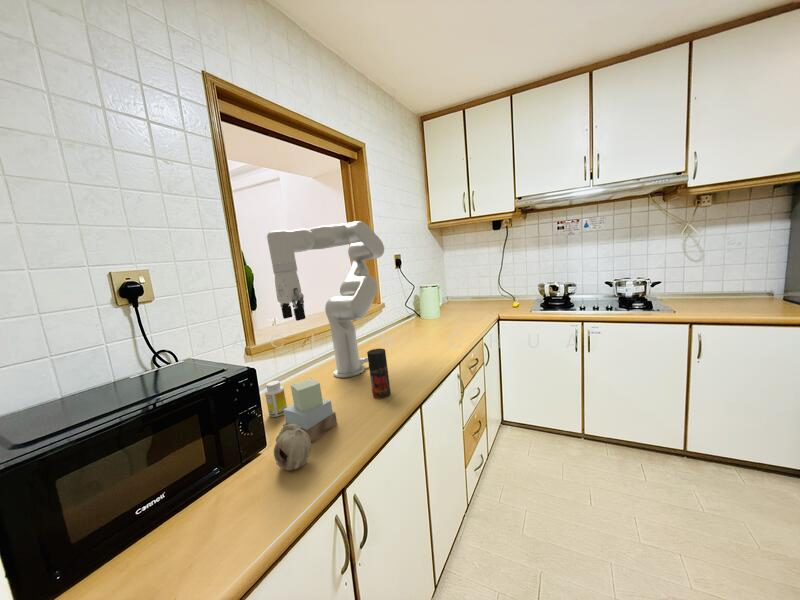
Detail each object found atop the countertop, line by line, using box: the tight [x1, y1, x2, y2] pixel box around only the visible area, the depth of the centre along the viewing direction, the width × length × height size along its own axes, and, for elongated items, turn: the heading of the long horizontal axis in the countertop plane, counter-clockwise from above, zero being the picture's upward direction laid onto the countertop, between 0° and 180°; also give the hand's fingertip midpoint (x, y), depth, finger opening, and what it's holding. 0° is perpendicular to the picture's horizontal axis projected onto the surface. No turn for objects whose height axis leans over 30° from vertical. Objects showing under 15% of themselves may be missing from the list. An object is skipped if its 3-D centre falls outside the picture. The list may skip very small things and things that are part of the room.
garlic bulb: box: [273, 424, 312, 472], centre depth 75 cm, size 9×8×10 cm
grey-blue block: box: [283, 398, 334, 430], centre depth 90 cm, size 9×9×4 cm
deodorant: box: [366, 348, 392, 400], centre depth 107 cm, size 6×6×15 cm
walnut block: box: [282, 411, 338, 445], centre depth 90 cm, size 10×10×4 cm
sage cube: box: [290, 377, 323, 412], centre depth 89 cm, size 6×6×6 cm
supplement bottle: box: [264, 380, 288, 418], centre depth 103 cm, size 6×6×10 cm
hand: (294, 318), depth 111 cm, fingers open, 9 cm apart
